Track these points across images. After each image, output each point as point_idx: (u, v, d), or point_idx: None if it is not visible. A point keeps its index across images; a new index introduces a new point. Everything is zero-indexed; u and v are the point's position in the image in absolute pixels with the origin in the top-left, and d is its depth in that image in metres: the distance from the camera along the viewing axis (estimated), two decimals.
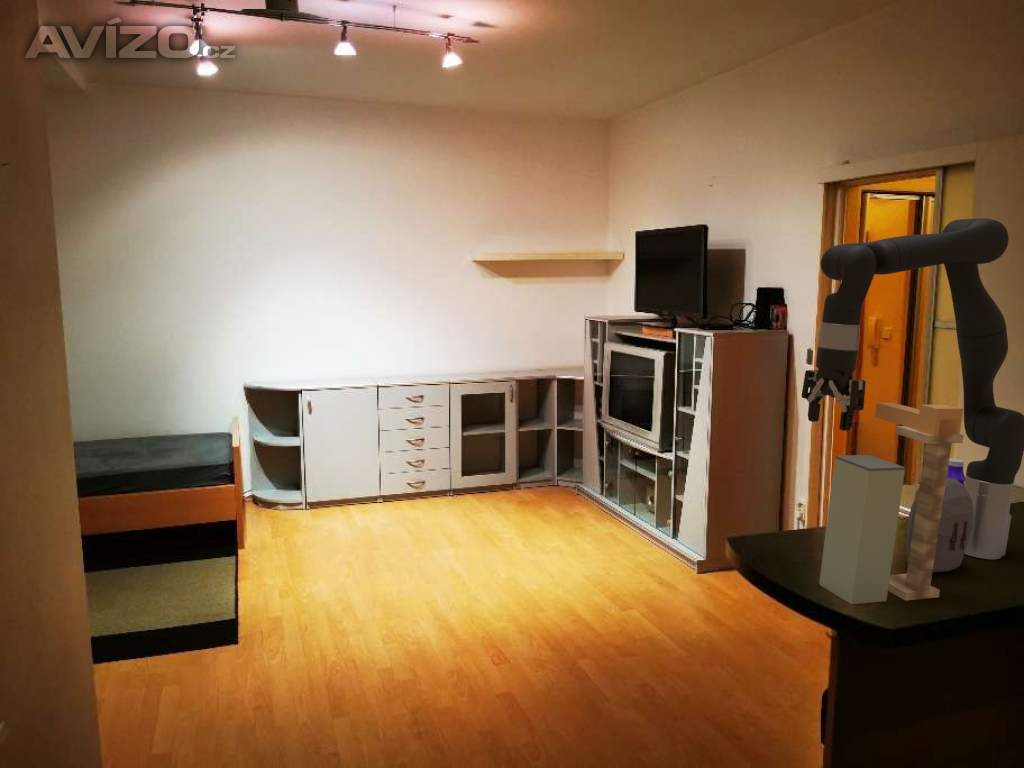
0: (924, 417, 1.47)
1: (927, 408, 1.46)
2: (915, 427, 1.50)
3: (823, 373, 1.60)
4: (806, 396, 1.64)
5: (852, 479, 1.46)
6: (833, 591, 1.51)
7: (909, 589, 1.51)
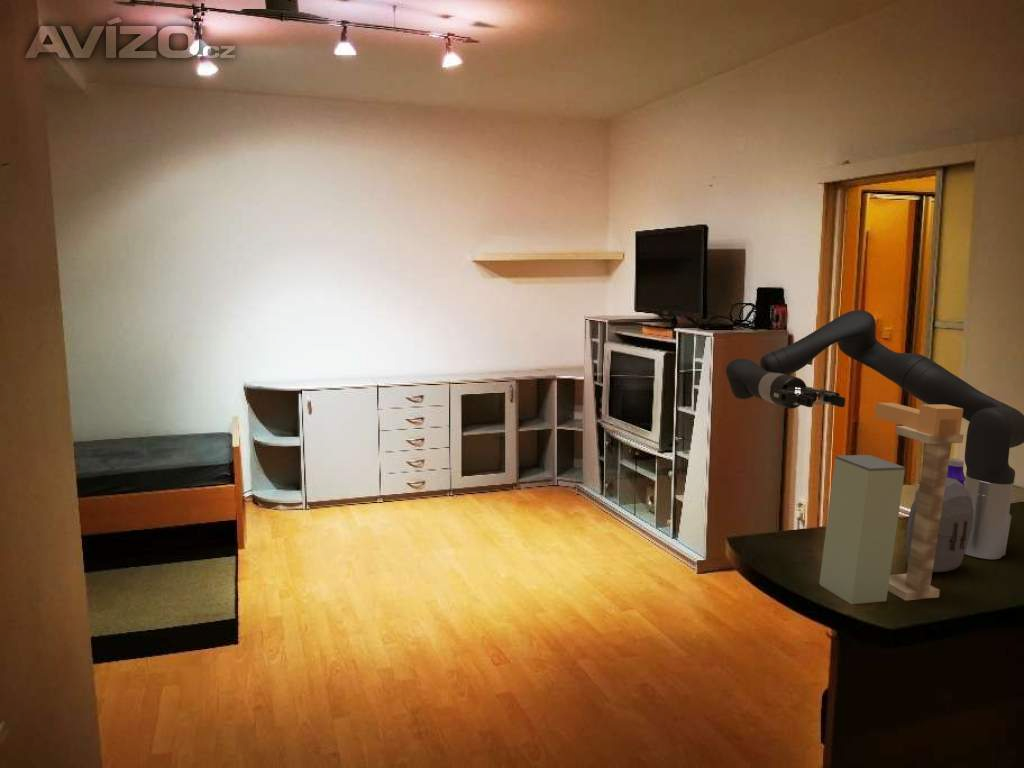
0: (924, 417, 1.47)
1: (927, 408, 1.46)
2: (915, 427, 1.50)
3: (791, 389, 1.83)
4: None
5: (852, 479, 1.46)
6: (833, 591, 1.51)
7: (909, 589, 1.51)
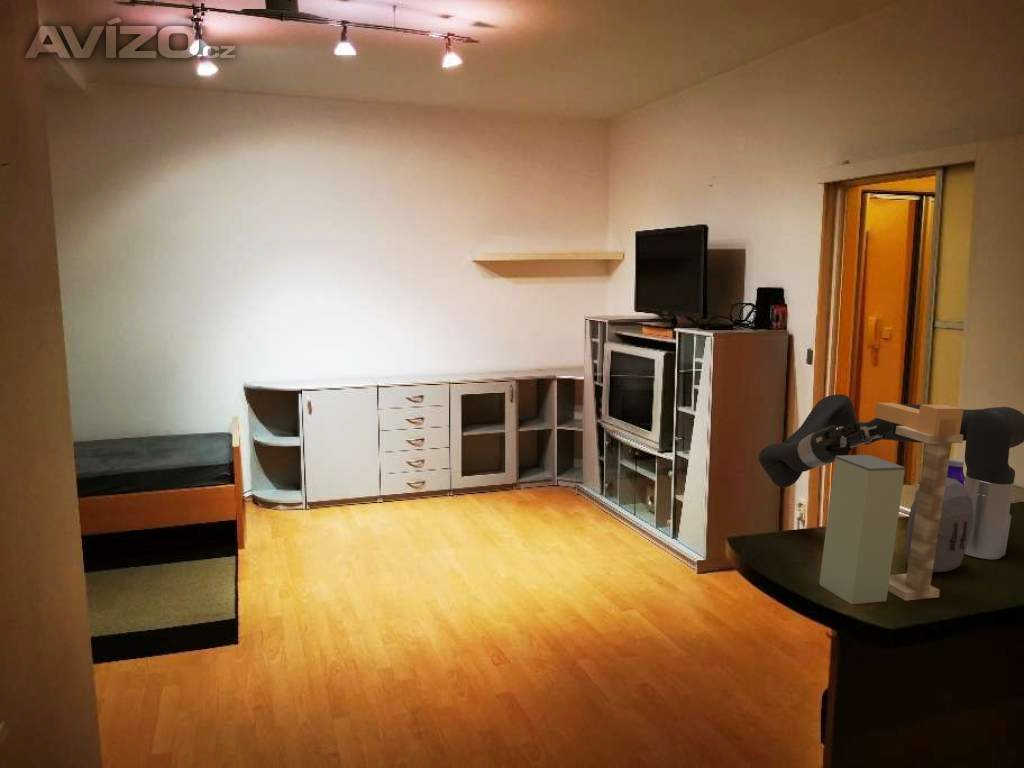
0: (924, 417, 1.47)
1: (927, 408, 1.46)
2: (915, 427, 1.50)
3: None
4: None
5: (852, 479, 1.46)
6: (833, 591, 1.51)
7: (909, 589, 1.51)
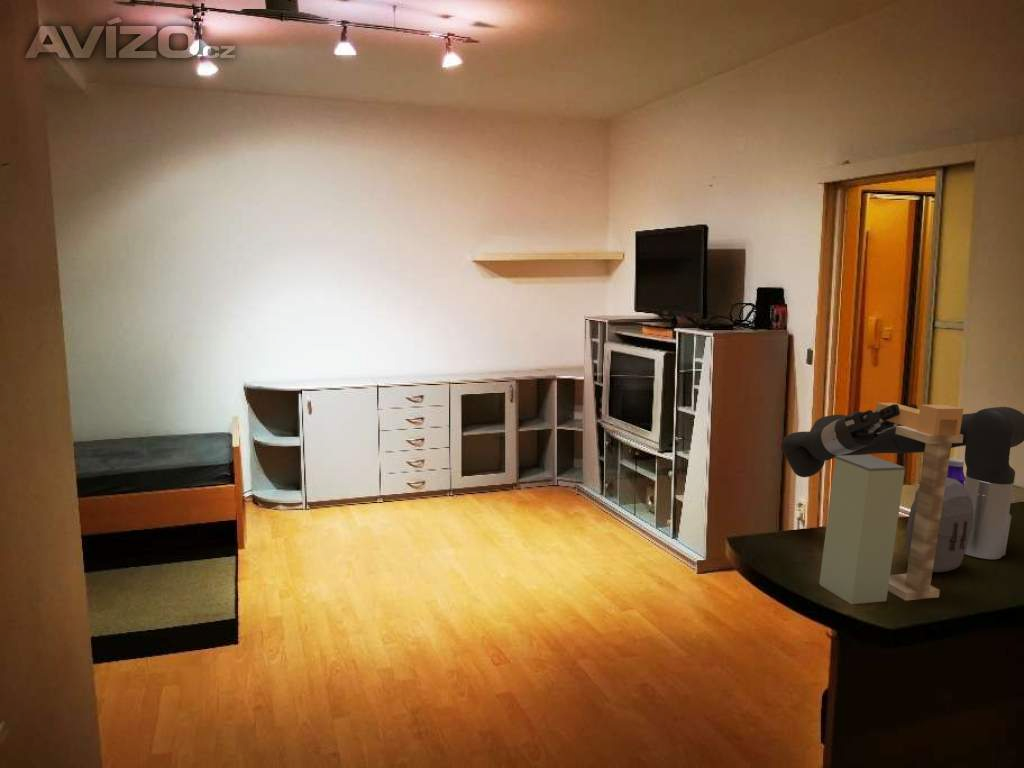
0: (924, 417, 1.47)
1: (927, 408, 1.46)
2: (915, 427, 1.50)
3: None
4: None
5: (852, 479, 1.46)
6: (833, 591, 1.51)
7: (909, 589, 1.51)
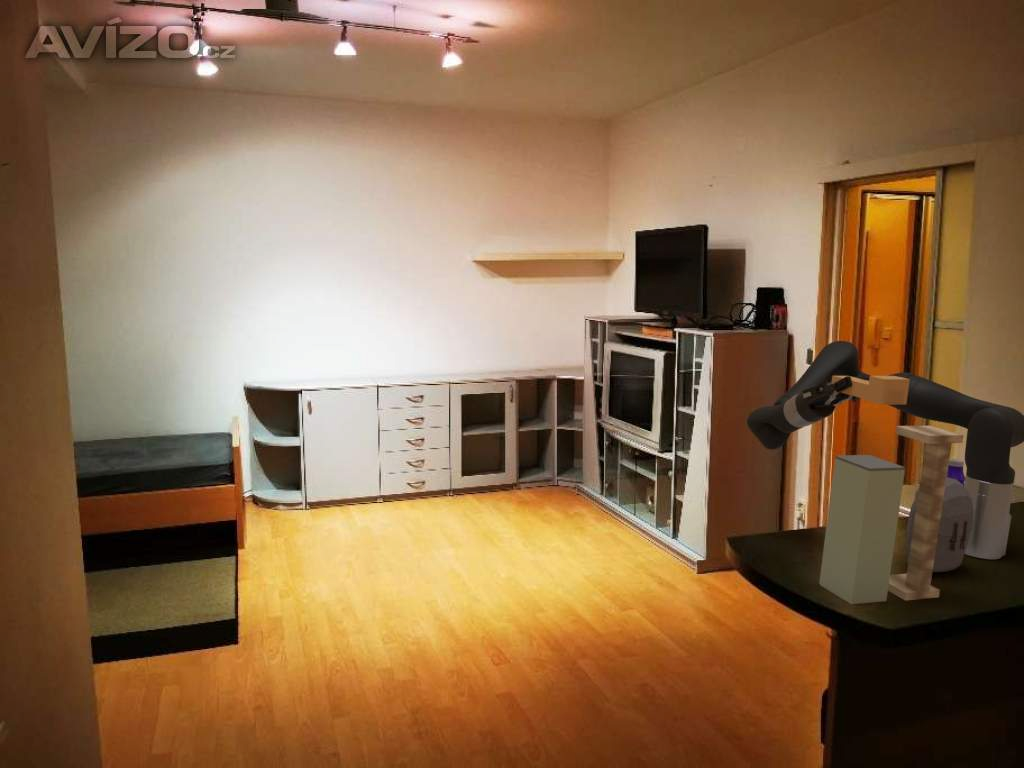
0: (873, 387, 1.55)
1: (875, 379, 1.54)
2: (865, 397, 1.58)
3: None
4: None
5: (852, 479, 1.46)
6: (833, 591, 1.51)
7: (909, 589, 1.51)
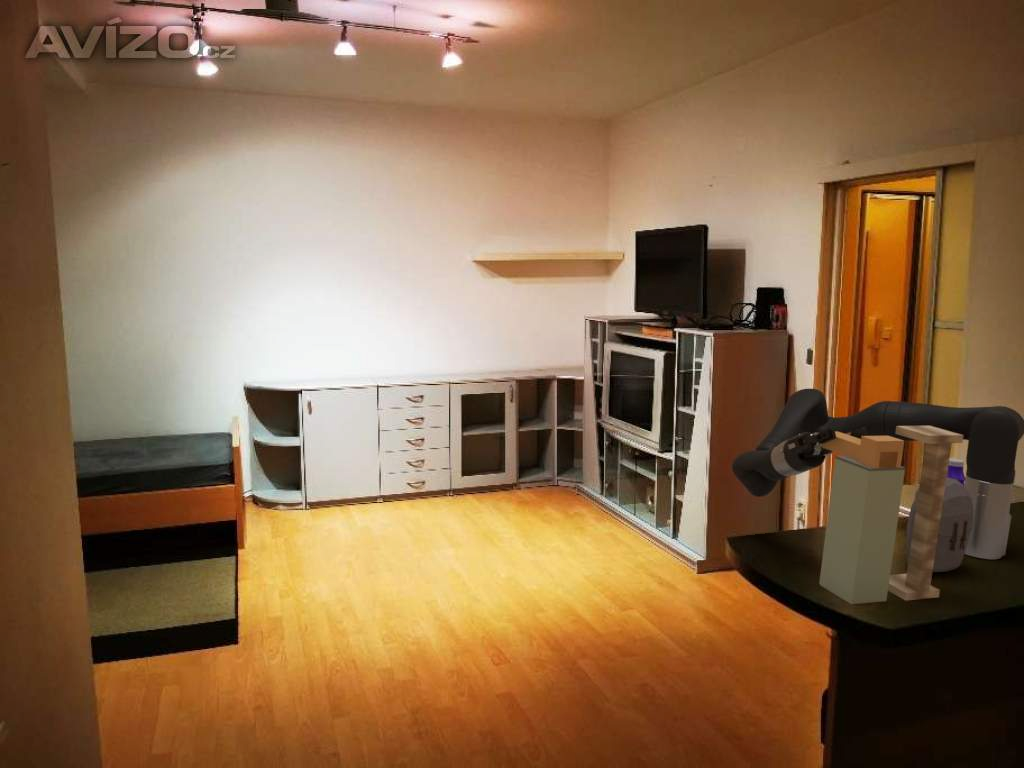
0: (865, 449, 1.44)
1: (868, 440, 1.44)
2: (857, 458, 1.48)
3: None
4: None
5: (852, 479, 1.46)
6: (833, 591, 1.51)
7: (909, 589, 1.51)
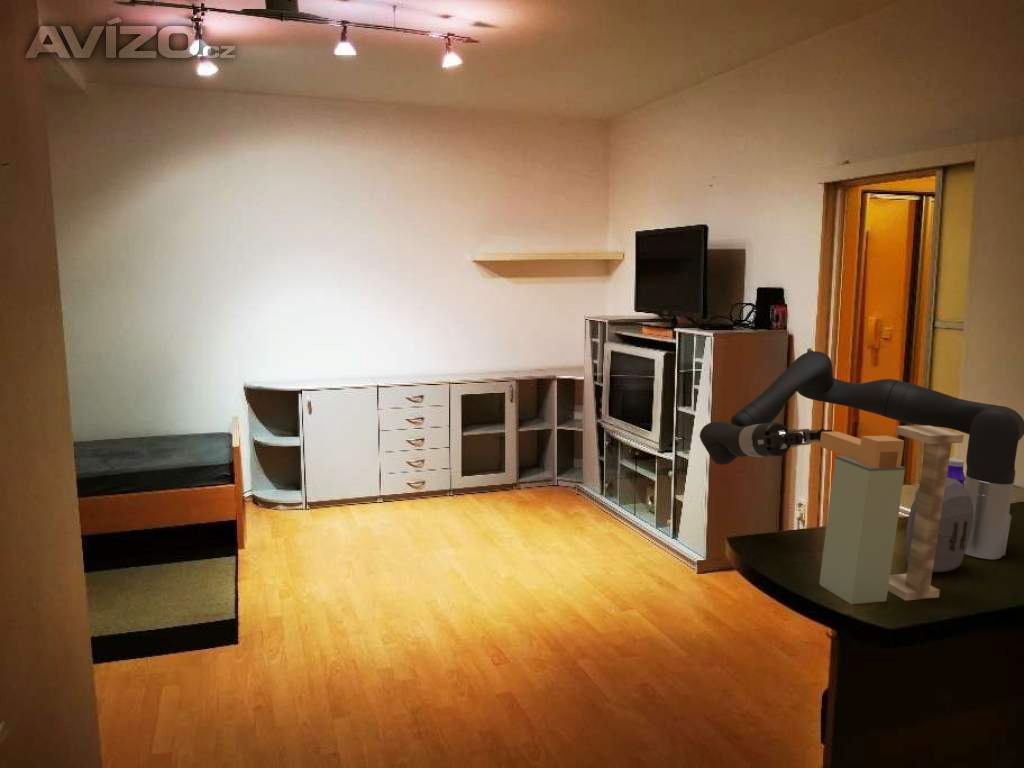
0: (865, 449, 1.44)
1: (868, 440, 1.44)
2: (857, 458, 1.48)
3: None
4: None
5: (852, 479, 1.46)
6: (833, 591, 1.51)
7: (909, 589, 1.51)
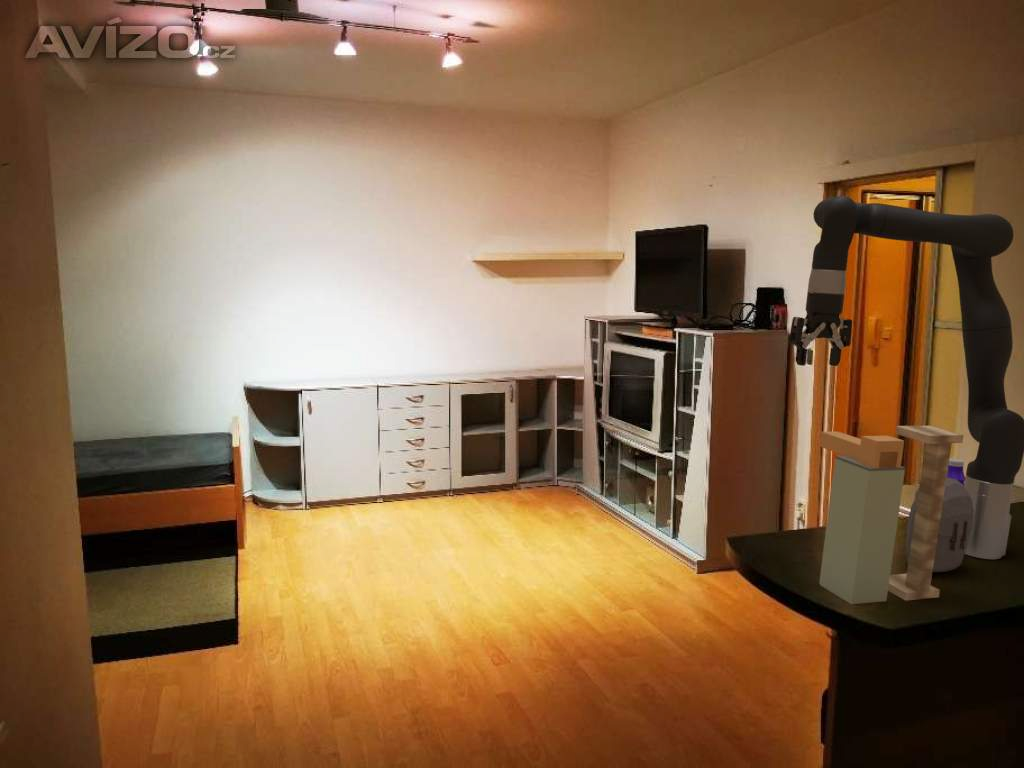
0: (865, 449, 1.44)
1: (868, 440, 1.44)
2: (857, 458, 1.48)
3: (819, 318, 1.70)
4: None
5: (852, 479, 1.46)
6: (833, 591, 1.51)
7: (909, 589, 1.51)
